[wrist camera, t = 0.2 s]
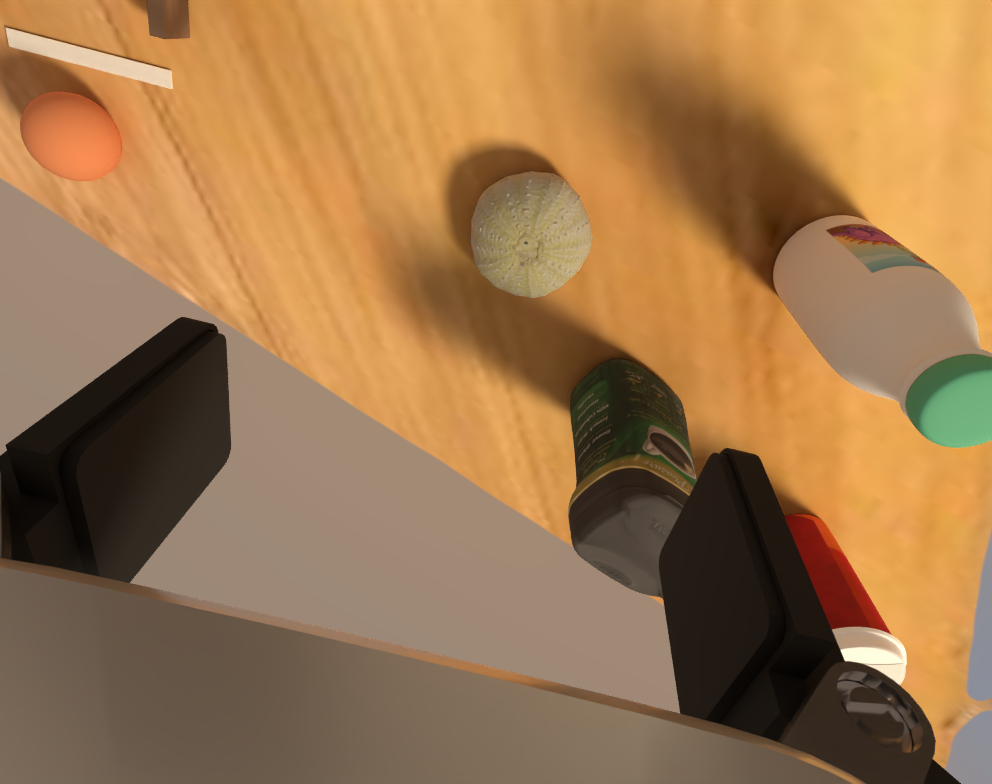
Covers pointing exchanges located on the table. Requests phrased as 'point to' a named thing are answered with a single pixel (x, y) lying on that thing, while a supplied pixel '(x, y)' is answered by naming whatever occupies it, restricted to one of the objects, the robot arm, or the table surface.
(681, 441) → the coffee jar
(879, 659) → the coffee cup
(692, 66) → the table surface
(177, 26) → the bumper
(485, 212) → the sea urchin shell
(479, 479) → the table surface
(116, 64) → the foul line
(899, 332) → the milk bottle
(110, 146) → the ball
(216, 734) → the robot arm
